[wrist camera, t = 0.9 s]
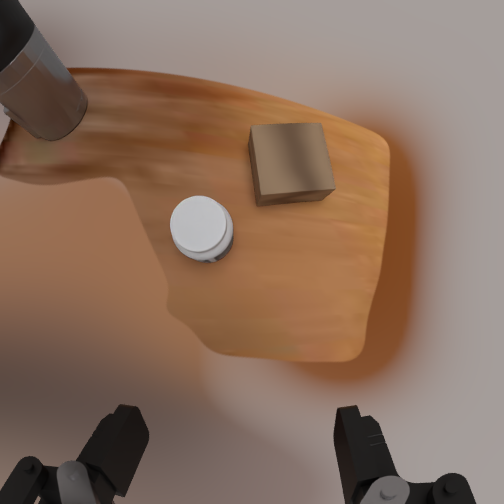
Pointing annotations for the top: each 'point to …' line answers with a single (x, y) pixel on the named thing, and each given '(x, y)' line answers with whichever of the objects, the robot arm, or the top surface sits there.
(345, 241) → the top surface
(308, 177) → the walnut block
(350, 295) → the top surface
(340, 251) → the top surface
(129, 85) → the top surface
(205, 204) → the pill bottle
